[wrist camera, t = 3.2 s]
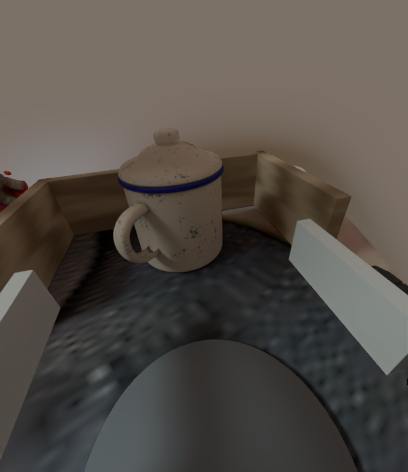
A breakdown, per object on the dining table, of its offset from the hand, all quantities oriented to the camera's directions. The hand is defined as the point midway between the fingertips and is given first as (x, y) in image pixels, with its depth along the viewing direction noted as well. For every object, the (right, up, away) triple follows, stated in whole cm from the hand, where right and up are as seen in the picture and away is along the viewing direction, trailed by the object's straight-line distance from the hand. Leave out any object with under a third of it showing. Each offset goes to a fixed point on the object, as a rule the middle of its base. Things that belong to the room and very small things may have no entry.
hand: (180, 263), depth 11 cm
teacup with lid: (-2, -1, +11) cm, 12 cm away
